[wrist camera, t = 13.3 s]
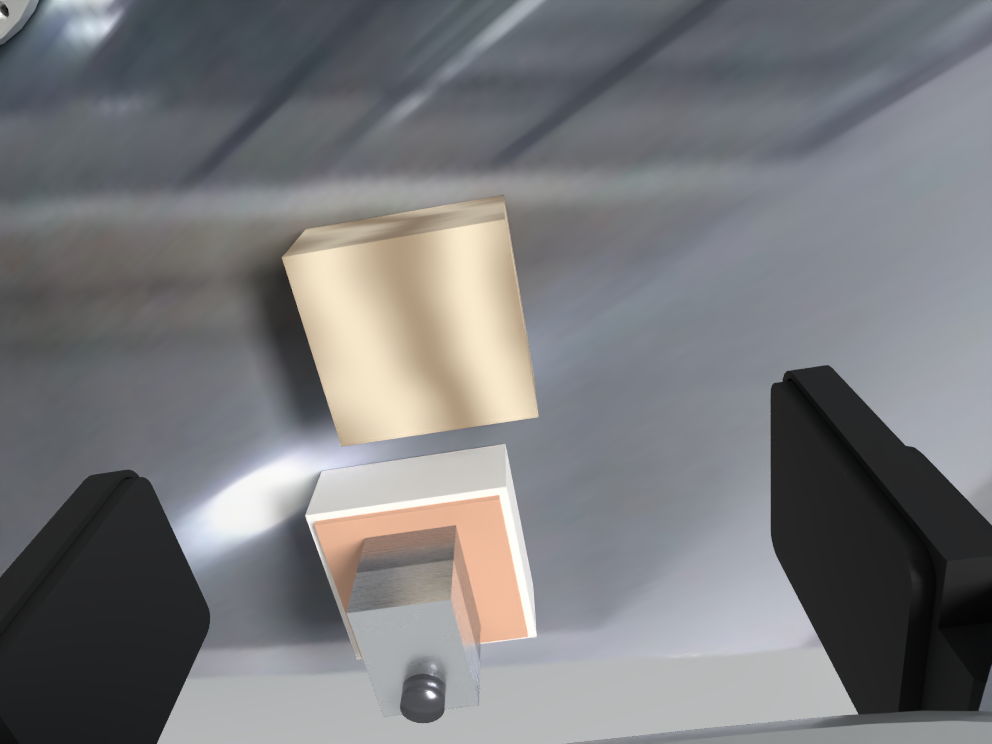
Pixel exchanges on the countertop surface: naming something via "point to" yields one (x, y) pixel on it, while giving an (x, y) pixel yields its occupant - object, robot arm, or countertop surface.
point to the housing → (417, 623)
